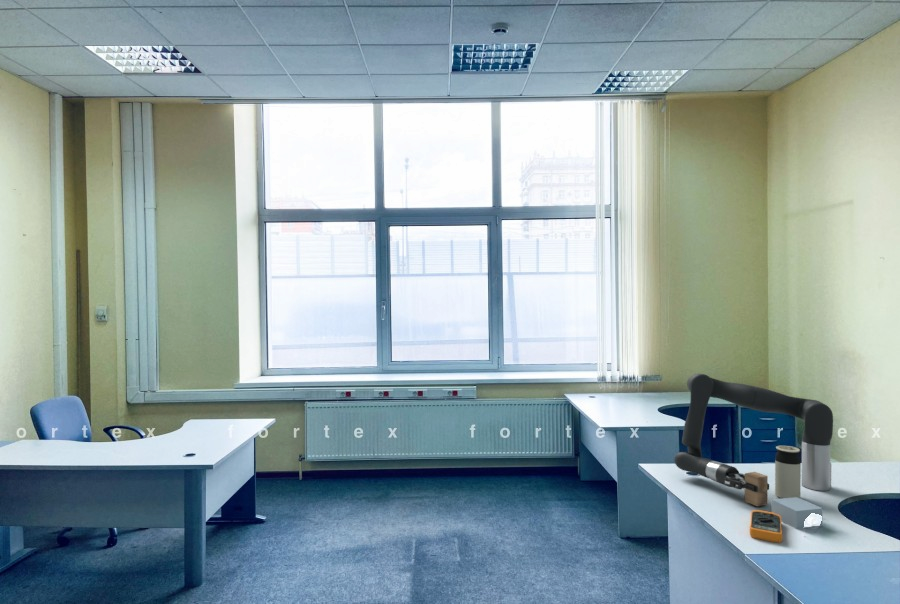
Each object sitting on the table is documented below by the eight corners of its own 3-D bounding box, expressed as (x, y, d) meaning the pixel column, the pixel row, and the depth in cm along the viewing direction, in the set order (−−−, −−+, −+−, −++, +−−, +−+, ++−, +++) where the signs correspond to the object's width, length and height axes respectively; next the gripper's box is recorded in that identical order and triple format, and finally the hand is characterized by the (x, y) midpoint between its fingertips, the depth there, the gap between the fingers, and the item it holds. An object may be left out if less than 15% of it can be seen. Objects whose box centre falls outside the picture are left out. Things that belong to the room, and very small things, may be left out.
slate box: (796, 514, 184) (796, 497, 184) (822, 526, 174) (822, 508, 174) (771, 517, 182) (771, 499, 182) (796, 529, 172) (796, 510, 172)
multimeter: (781, 523, 177) (781, 513, 177) (782, 545, 162) (782, 533, 162) (751, 518, 182) (751, 507, 182) (749, 538, 166) (749, 527, 166)
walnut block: (754, 499, 195) (754, 471, 195) (767, 504, 191) (767, 475, 191) (744, 501, 193) (744, 473, 193) (757, 506, 189) (757, 477, 189)
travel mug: (787, 501, 195) (787, 451, 195) (769, 493, 203) (770, 445, 203) (805, 499, 197) (806, 450, 197) (787, 492, 205) (788, 444, 204)
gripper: (707, 466, 203) (748, 480, 187) (735, 461, 208) (777, 474, 192) (707, 486, 203) (748, 501, 187) (735, 480, 208) (777, 495, 192)
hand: (762, 488), depth 190 cm, fingers closed on walnut block, 5 cm apart
